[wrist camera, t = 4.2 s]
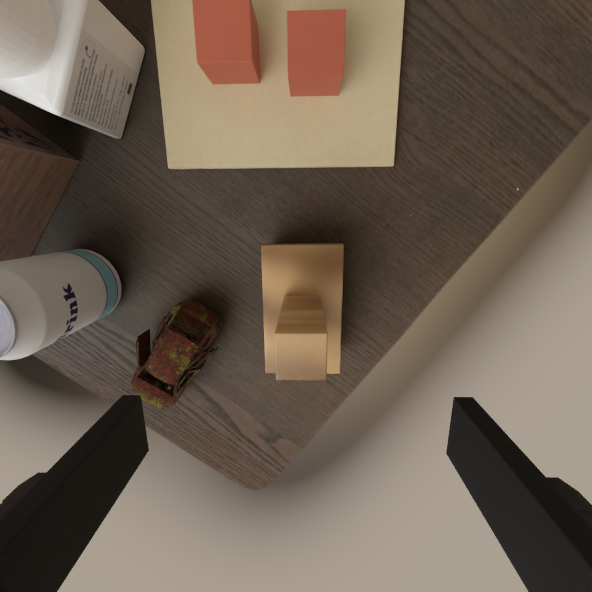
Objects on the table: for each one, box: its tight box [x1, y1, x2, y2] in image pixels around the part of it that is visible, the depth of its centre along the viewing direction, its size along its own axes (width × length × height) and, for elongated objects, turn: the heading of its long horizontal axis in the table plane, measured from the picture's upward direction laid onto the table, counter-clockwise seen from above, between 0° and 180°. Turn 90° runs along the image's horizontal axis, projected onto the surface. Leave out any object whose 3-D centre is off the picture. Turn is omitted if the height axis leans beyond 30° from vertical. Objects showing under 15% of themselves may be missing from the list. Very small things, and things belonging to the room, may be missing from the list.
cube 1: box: [192, 0, 260, 84], centre depth 24 cm, size 4×4×4 cm
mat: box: [151, 0, 405, 169], centre depth 26 cm, size 20×16×1 cm
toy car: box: [130, 299, 222, 408], centre depth 31 cm, size 12×7×5 cm, turn 147°
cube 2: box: [287, 9, 346, 97], centre depth 24 cm, size 4×4×4 cm
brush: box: [261, 243, 344, 380], centre depth 26 cm, size 12×7×13 cm, turn 0°
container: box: [0, 0, 145, 139], centre depth 21 cm, size 8×8×13 cm
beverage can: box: [0, 249, 121, 360], centre depth 26 cm, size 7×7×12 cm
